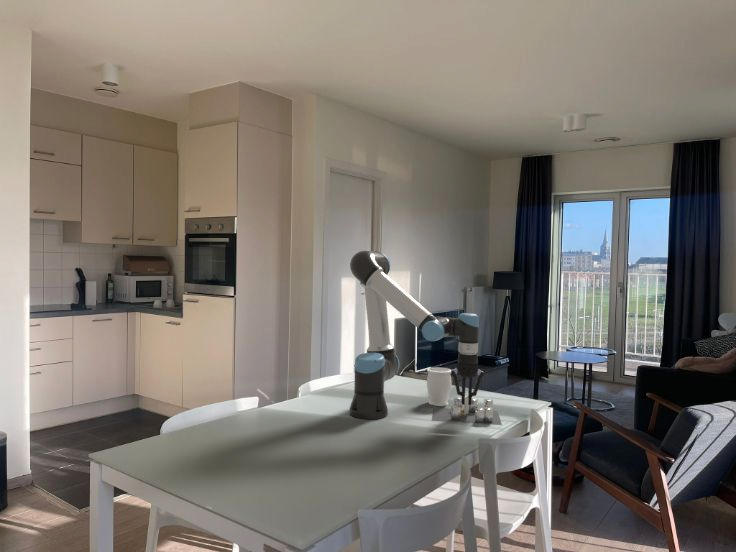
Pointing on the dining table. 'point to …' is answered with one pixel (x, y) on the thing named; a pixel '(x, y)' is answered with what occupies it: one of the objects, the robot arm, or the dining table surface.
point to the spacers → (473, 410)
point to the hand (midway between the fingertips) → (466, 412)
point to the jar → (438, 385)
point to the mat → (445, 415)
